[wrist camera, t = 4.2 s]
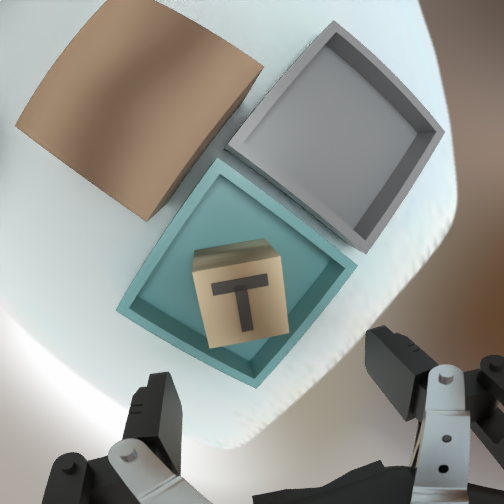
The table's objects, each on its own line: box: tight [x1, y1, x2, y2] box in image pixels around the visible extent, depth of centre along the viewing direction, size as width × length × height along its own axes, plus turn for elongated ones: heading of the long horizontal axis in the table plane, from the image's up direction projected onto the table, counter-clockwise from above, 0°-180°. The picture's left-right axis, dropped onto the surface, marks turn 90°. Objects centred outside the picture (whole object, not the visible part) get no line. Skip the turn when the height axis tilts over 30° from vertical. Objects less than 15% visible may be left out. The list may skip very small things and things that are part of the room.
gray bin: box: [225, 20, 445, 254], centre depth 21 cm, size 12×12×3 cm
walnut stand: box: [15, 0, 264, 222], centre depth 16 cm, size 9×9×8 cm
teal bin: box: [116, 157, 358, 388], centre depth 22 cm, size 12×12×3 cm
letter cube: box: [192, 238, 289, 349], centre depth 21 cm, size 5×5×5 cm
